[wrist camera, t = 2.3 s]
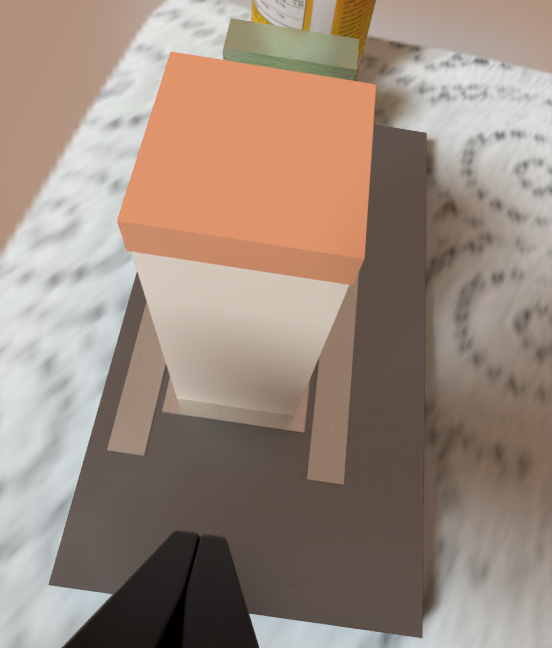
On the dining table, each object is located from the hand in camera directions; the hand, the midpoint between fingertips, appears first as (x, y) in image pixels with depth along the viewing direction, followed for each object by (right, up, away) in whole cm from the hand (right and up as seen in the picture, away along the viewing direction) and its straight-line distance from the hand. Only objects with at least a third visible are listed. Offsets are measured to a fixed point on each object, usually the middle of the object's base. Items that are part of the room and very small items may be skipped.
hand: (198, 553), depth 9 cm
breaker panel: (+1, +4, +12) cm, 13 cm away
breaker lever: (0, +3, +10) cm, 10 cm away
